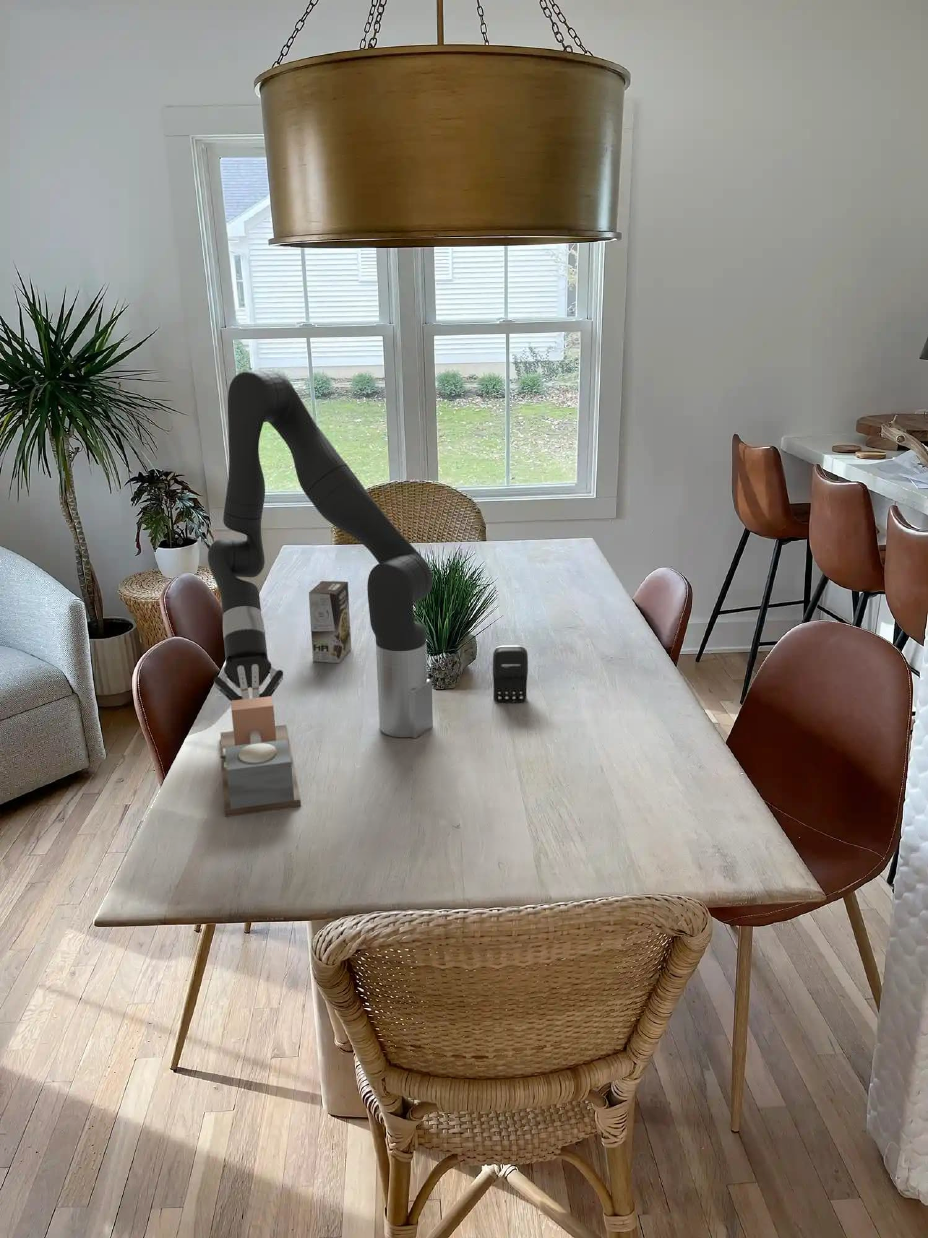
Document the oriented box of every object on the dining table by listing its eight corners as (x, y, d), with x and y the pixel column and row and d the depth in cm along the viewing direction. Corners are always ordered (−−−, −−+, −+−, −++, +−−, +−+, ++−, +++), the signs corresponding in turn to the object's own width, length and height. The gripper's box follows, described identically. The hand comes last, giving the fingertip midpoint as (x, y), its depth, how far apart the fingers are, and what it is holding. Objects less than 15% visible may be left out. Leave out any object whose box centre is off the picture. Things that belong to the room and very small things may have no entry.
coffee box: (339, 663, 213) (335, 594, 208) (312, 661, 214) (307, 592, 209) (352, 648, 222) (349, 580, 216) (325, 646, 223) (321, 579, 217)
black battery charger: (492, 705, 193) (492, 651, 189) (492, 697, 196) (492, 644, 192) (528, 705, 193) (529, 651, 189) (527, 697, 196) (527, 644, 192)
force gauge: (221, 738, 180) (216, 696, 177) (286, 730, 183) (283, 688, 180) (224, 816, 155) (219, 768, 152) (301, 806, 158) (297, 758, 155)
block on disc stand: (220, 754, 171) (215, 702, 168) (276, 747, 174) (271, 696, 170) (221, 778, 163) (216, 725, 160) (280, 771, 165) (275, 718, 162)
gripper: (206, 631, 176) (214, 721, 169) (280, 624, 179) (291, 712, 172) (208, 647, 182) (216, 735, 175) (280, 640, 185) (290, 726, 179)
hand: (253, 724), depth 174 cm, fingers closed
